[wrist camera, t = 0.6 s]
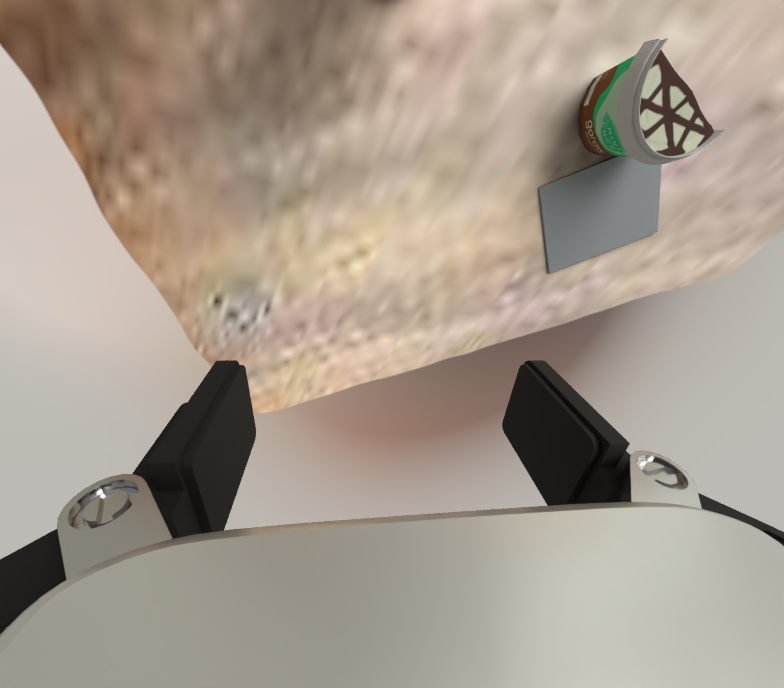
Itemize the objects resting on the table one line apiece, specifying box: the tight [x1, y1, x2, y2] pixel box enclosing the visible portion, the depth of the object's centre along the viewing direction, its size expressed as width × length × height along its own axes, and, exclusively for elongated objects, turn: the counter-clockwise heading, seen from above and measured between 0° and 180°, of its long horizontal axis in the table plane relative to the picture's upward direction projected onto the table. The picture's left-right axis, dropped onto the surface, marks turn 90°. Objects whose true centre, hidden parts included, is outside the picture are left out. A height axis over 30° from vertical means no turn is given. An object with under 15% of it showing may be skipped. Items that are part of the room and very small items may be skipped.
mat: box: [538, 156, 661, 274], centre depth 43 cm, size 12×16×1 cm
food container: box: [578, 38, 725, 165], centre depth 35 cm, size 12×6×10 cm, turn 55°
